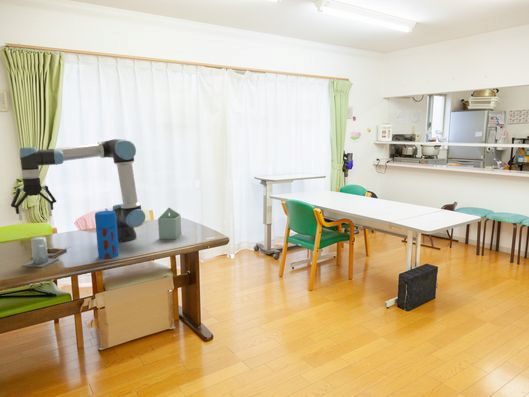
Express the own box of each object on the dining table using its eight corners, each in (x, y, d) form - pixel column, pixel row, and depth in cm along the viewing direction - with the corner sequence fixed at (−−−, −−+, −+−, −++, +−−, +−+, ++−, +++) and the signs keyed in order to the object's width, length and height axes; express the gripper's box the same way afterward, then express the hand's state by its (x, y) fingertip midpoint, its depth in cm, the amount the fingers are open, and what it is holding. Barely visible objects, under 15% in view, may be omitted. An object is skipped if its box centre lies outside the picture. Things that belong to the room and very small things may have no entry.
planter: (165, 241, 240) (163, 211, 236) (159, 238, 245) (157, 209, 242) (187, 236, 251) (185, 207, 247) (181, 234, 256) (179, 205, 253)
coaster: (58, 260, 205) (58, 258, 205) (42, 267, 193) (42, 266, 193) (39, 258, 207) (39, 257, 207) (22, 266, 195) (21, 265, 195)
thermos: (102, 253, 217) (98, 210, 212) (121, 252, 218) (118, 210, 213) (95, 259, 206) (91, 214, 202) (115, 258, 207) (112, 214, 203)
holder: (66, 252, 218) (66, 248, 218) (52, 258, 207) (51, 255, 206) (48, 251, 220) (48, 247, 220) (32, 257, 209) (32, 254, 209)
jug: (31, 261, 202) (29, 237, 199) (46, 258, 206) (44, 235, 204) (36, 267, 192) (33, 243, 189) (51, 264, 196) (49, 240, 194)
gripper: (2, 180, 182) (8, 223, 186) (59, 176, 198) (63, 215, 201) (1, 179, 187) (6, 220, 191) (56, 175, 203) (60, 213, 207)
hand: (35, 218), depth 196 cm, fingers open, 13 cm apart
